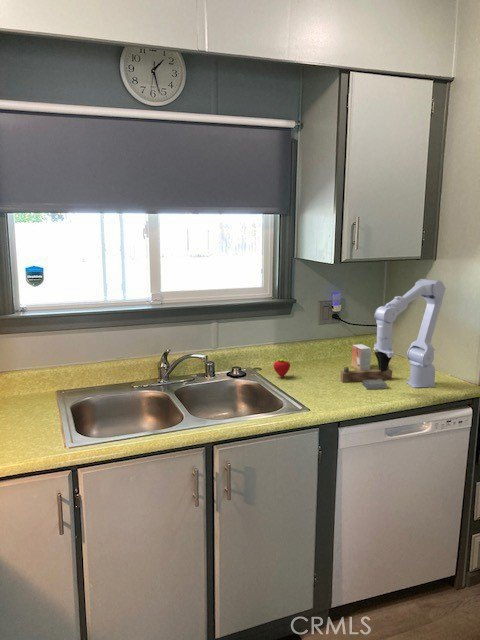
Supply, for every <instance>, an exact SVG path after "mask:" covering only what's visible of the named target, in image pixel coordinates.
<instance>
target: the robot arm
mask: <svg viewBox="0 0 480 640" xmlns="http://www.w3.org/2000/svg"><path fill="white" fill-rule="evenodd" d="M446 288H447V287H446V286H445V284H444V283H443V281H442V280H433V279H427V278H420V279H419V280H417V281H416V282H415V283H414V286H413V287H411V289H409V290H408V291H407V292H405V294H404V295H402V296H400V295H398V296H396V295H395V296H394V298H393V299H392V300H391V301H389V302H387V303H386V304H385V305H384V306H383V305H381V306H379V307H378V308H376V309H375V311H374V314H373V317H374V319H375V320H376V321H375V322H376V326H377V327H376V343H374V344H373V345H374V347H373V351H375V352H374V355H375V357H376V361H377V365H378V369H379V370H381V371H387V367H388V365H389V364H390V361H392V359H393V358H395V352H394V350H393V348H392V344H393V343H392V341H393V340H392V339H393V324H394V323H393V322H395V321H396V319H397V317H398V316H399V314H401V313H402V312H403V311H405V310H406V309H407V308H408V305H409V303H411V302H413V301H414V300H416V299H417V298H419V297H422V298H423V299H424V300H425V302H426V307H425V311H424V313H423V318H422V321H421V325H420V328H419V331H418V335H417V338H416V340H413V342H411V344H410V347H409V348H408V350H407V353H406V358H407V360H408V361H409V364H410V369H409V371H410V372H409V380H406V381H405V383H407V384H408V385H409V386H410V387H412V388H414V389H417V388H429V387H430V388H433V387H436V385H435V382H436V381H435V379H436V378H435V377H436V367H435V365H434V364H433V362H434V359H435V347H434V346H433V345H432V343H431V342H432V339H433V336H434V331H435V328H436V325H437V321H438V317H439V314H440V311H441V308H442V303H443V299H444V296H445V292H446Z"/></svg>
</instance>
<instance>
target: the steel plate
mask: <svg viewBox="0 0 480 640" xmlns="http://www.w3.org/2000/svg"><path fill="white" fill-rule="evenodd" d="M361 382H362V386H363V387H364V388H365V389H366V390H384V389H387V382H385V380H381V379H373V380H363V381H361Z"/></svg>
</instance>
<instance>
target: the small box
mask: <svg viewBox="0 0 480 640" xmlns="http://www.w3.org/2000/svg"><path fill="white" fill-rule="evenodd" d="M351 347H352V348H351V363H350V364H351V365H350V366H351V368H354V369H356V370H371V363H372V348H371V347H369V346H367V345H364V343H360V344H352V345H351Z"/></svg>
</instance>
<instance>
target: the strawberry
mask: <svg viewBox="0 0 480 640" xmlns="http://www.w3.org/2000/svg"><path fill="white" fill-rule="evenodd" d="M281 356H282V358H280V359H276V361H275V362H274V363H273V364H272V365H273V367H272V368H273V369H274V371H275V372H276V374H277V375H278V376H279V378H284V377H285V376H286V374H287V373H288V372H289V371H290V368H291V364H290V362H289V361H288V360H287V359H286V358H284V356H283V355H281Z"/></svg>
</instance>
